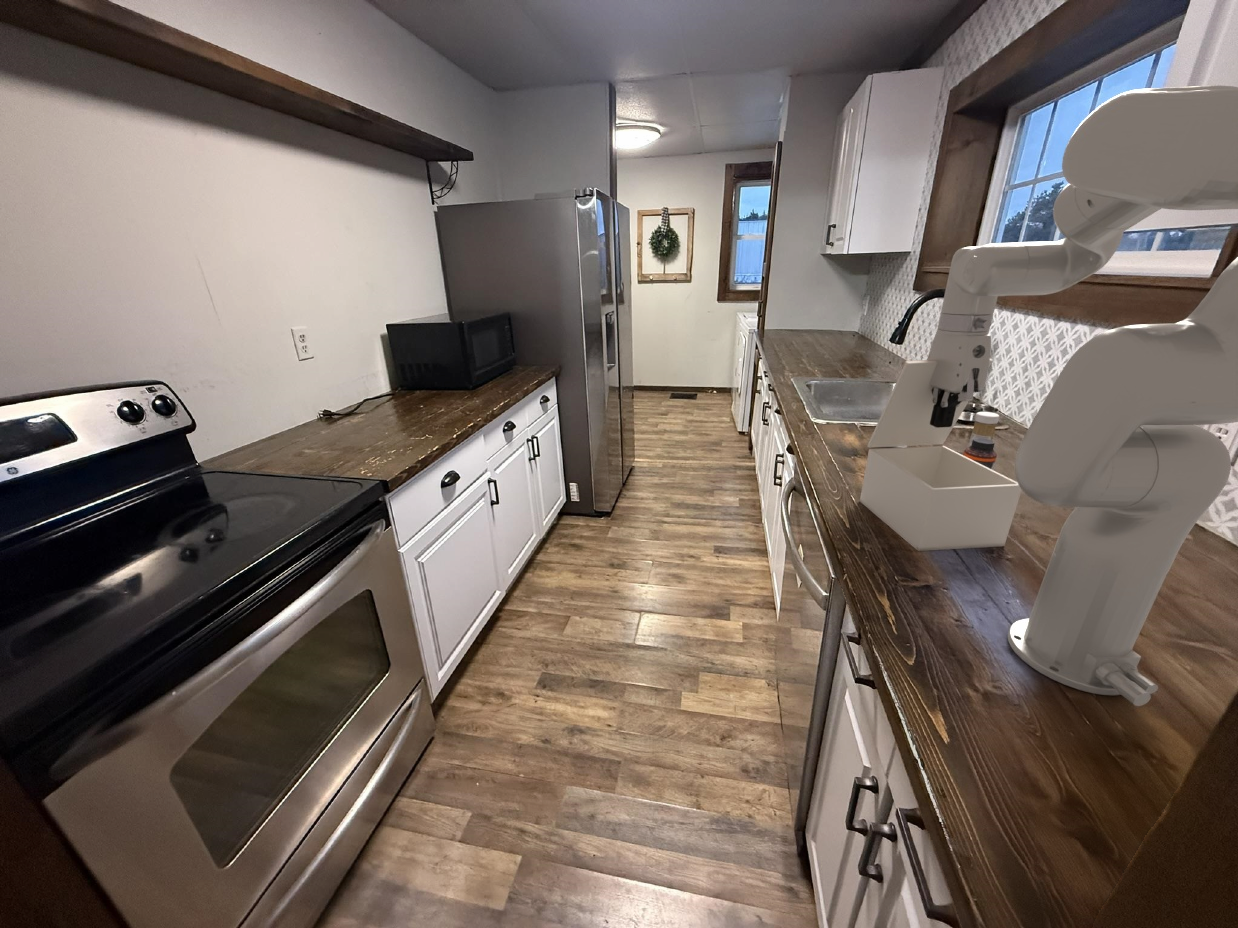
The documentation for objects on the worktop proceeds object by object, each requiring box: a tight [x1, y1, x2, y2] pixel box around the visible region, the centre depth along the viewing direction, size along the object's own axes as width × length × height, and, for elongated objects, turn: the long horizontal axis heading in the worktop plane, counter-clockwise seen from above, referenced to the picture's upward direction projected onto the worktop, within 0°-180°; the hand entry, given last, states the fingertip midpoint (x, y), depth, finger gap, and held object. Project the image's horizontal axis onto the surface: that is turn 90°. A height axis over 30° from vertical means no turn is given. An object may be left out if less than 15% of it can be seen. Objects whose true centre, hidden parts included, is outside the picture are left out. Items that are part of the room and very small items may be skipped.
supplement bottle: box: [962, 438, 998, 470], centre depth 109 cm, size 6×6×11 cm
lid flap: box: [867, 357, 994, 449], centre depth 96 cm, size 20×16×1 cm
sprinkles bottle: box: [967, 411, 1000, 447], centre depth 120 cm, size 5×5×14 cm
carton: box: [859, 445, 1023, 552], centre depth 95 cm, size 20×16×12 cm
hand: (940, 425), depth 92 cm, fingers closed
